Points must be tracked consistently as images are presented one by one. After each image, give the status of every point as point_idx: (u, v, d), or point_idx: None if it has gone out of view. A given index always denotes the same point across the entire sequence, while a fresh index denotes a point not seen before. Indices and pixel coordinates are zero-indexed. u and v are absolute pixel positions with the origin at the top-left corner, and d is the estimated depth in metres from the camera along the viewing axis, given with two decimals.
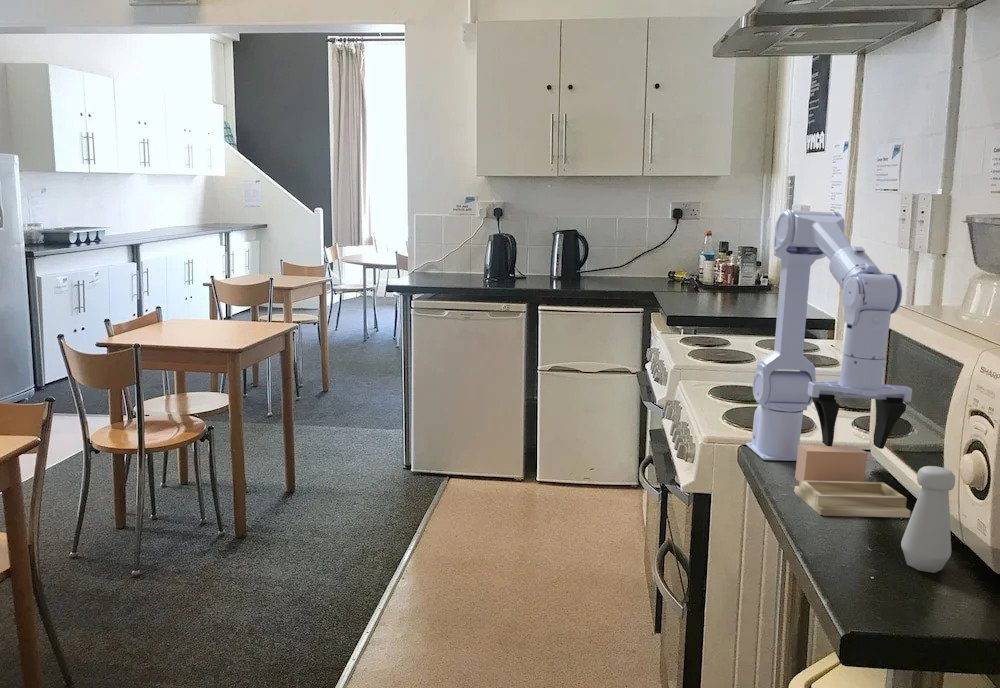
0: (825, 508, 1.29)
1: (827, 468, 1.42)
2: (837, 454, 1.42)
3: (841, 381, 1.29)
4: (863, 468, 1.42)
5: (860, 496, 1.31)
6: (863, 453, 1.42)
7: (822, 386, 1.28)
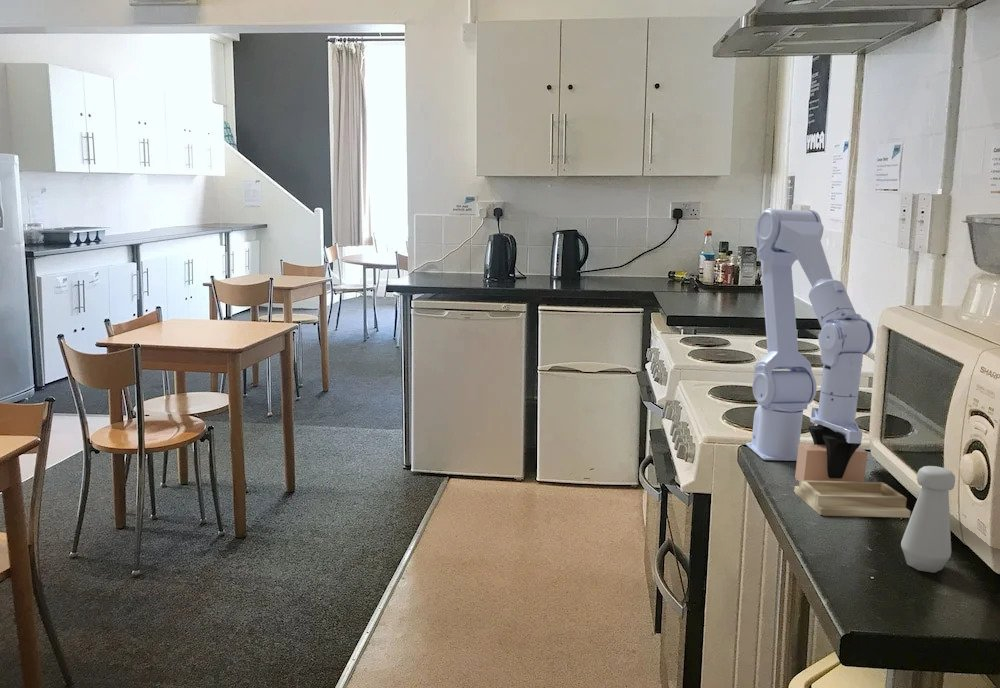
0: (825, 508, 1.29)
1: None
2: None
3: None
4: (863, 467, 1.42)
5: (860, 496, 1.31)
6: (863, 452, 1.42)
7: (814, 411, 1.48)
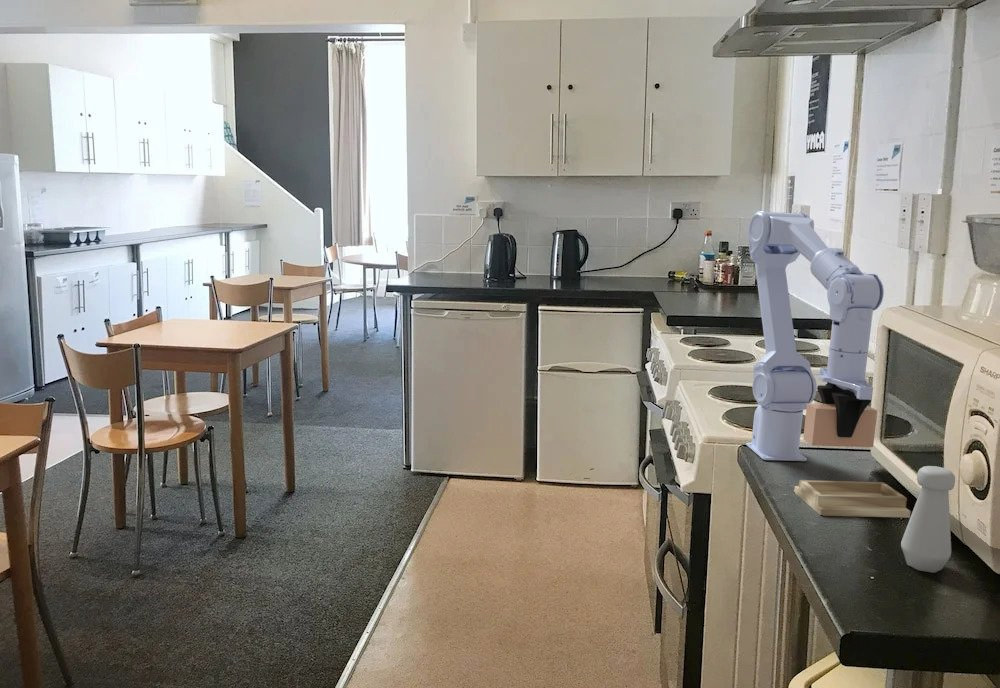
0: (825, 508, 1.29)
1: (836, 427, 1.39)
2: None
3: None
4: (873, 426, 1.39)
5: (860, 496, 1.31)
6: (873, 411, 1.39)
7: (822, 370, 1.45)
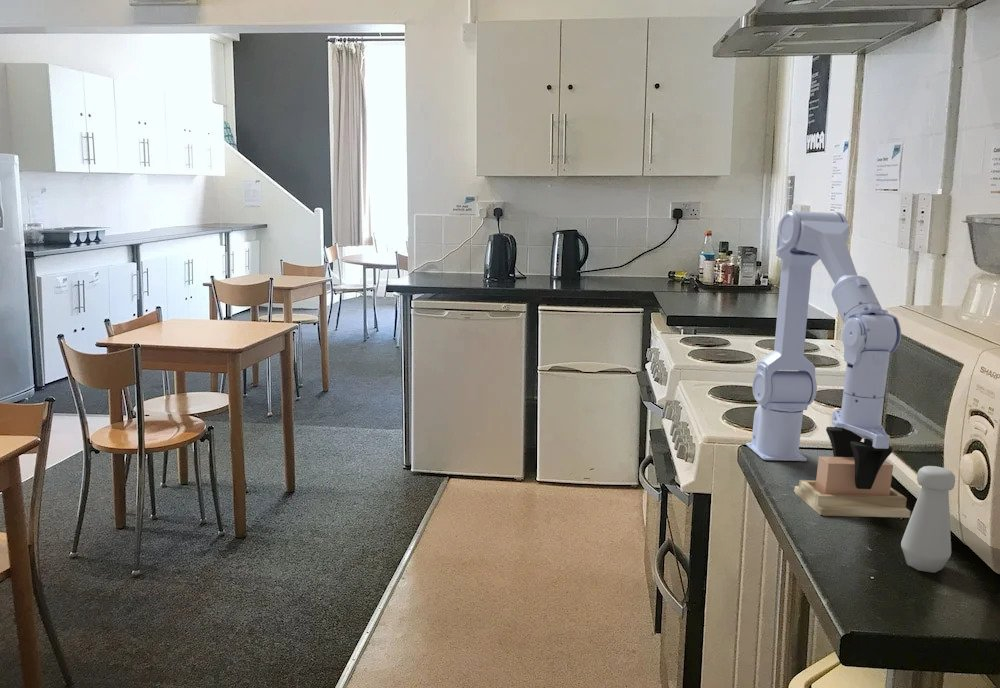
0: (825, 508, 1.29)
1: (850, 482, 1.32)
2: None
3: None
4: (889, 482, 1.32)
5: (860, 496, 1.31)
6: (889, 465, 1.32)
7: (835, 413, 1.38)
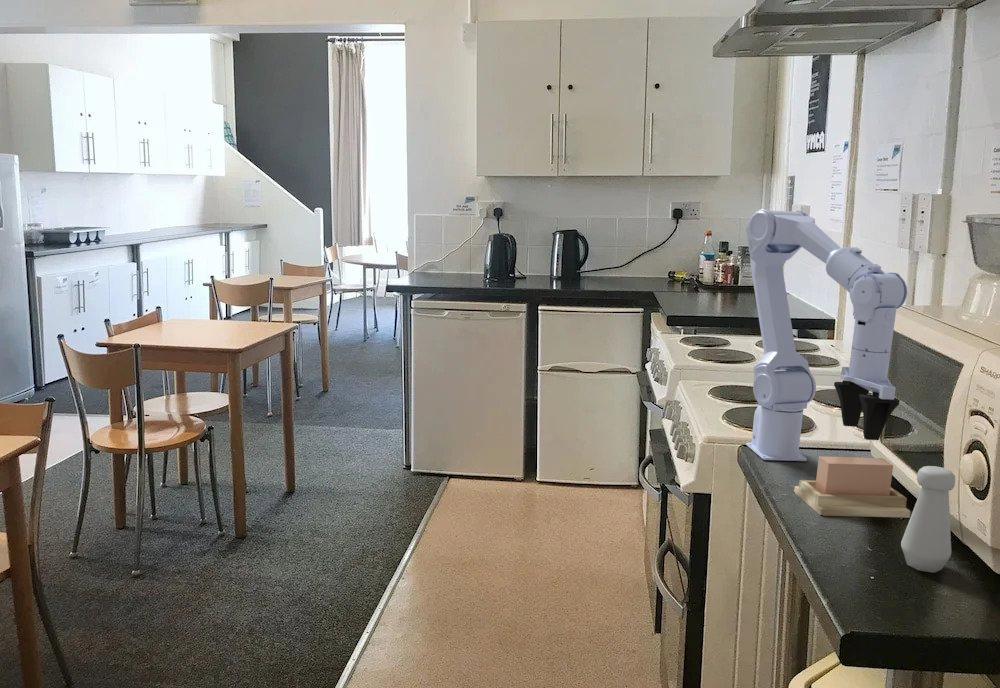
0: (825, 508, 1.29)
1: (850, 482, 1.32)
2: (861, 466, 1.32)
3: None
4: (889, 482, 1.32)
5: (860, 496, 1.31)
6: (889, 465, 1.32)
7: (844, 369, 1.45)
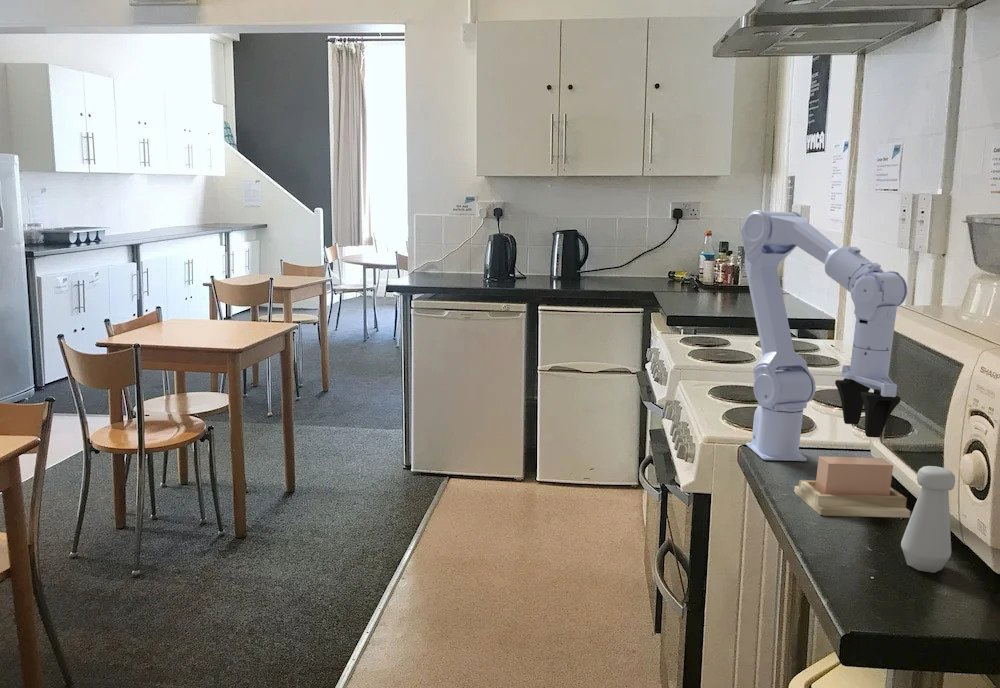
0: (825, 508, 1.29)
1: (850, 482, 1.32)
2: (861, 466, 1.32)
3: None
4: (889, 482, 1.32)
5: (860, 496, 1.31)
6: (889, 465, 1.32)
7: (845, 367, 1.46)
